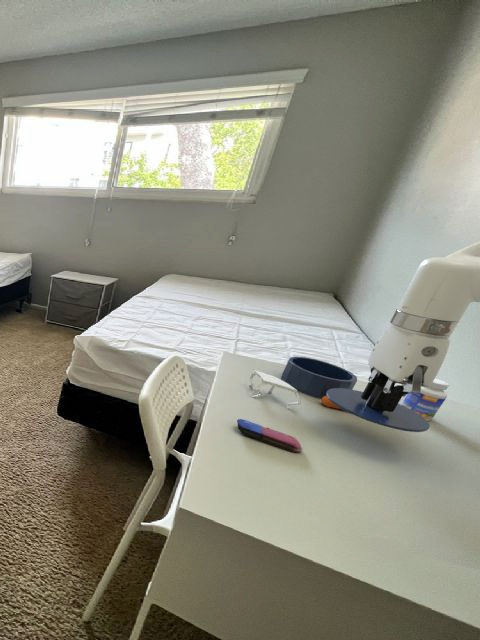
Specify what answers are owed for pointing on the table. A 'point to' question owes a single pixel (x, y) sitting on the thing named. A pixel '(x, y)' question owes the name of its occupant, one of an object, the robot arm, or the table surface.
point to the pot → (316, 376)
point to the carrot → (328, 402)
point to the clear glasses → (274, 382)
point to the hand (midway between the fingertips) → (376, 404)
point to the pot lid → (377, 410)
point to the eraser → (269, 436)
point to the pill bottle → (427, 399)
